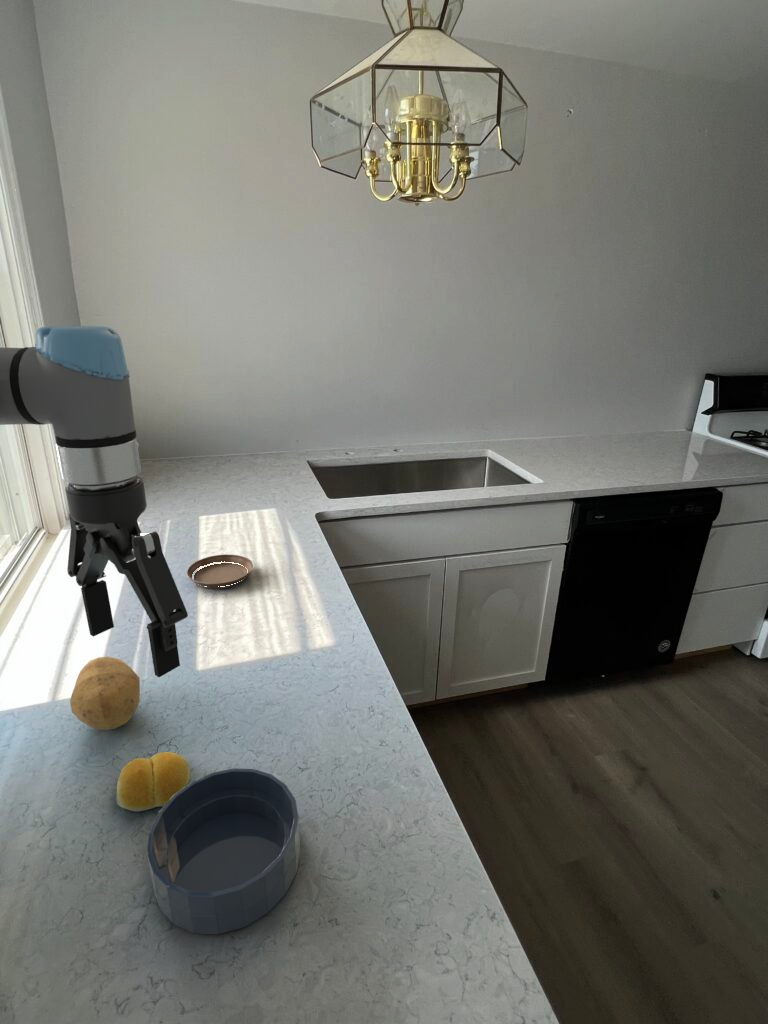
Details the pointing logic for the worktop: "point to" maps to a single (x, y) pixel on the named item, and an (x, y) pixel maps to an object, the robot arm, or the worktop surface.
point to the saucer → (220, 571)
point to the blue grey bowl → (224, 850)
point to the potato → (105, 693)
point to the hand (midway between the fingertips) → (133, 649)
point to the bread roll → (151, 781)
